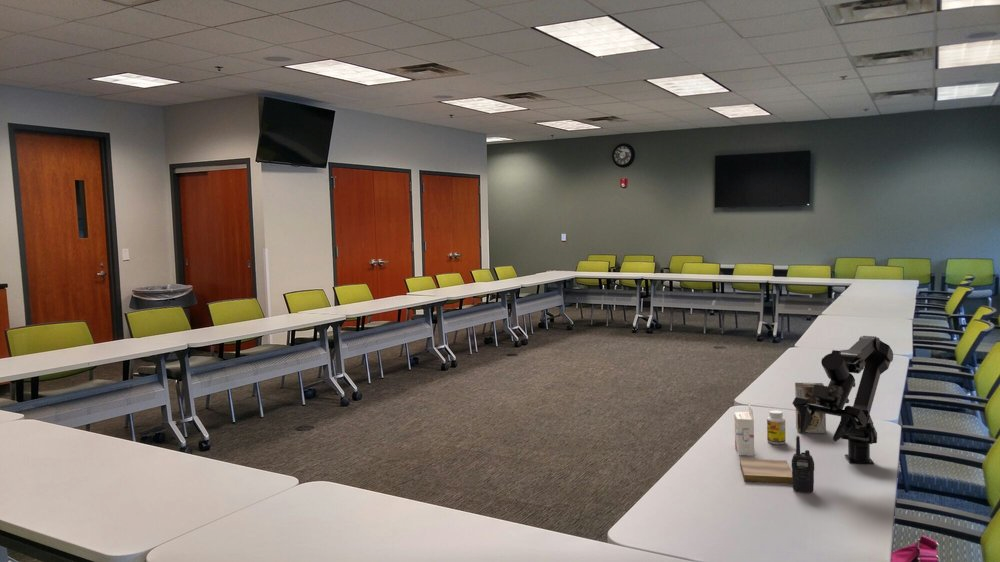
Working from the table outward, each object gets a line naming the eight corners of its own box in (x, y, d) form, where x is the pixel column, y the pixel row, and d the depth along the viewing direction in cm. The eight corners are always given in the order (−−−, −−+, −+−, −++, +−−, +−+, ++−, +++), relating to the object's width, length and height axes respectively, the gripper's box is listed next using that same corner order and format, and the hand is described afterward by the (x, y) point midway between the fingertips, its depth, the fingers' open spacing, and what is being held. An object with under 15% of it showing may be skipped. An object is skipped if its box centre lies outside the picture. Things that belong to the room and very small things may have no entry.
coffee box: (823, 428, 233) (823, 382, 232) (826, 433, 227) (825, 386, 226) (795, 427, 236) (794, 381, 235) (796, 432, 230) (796, 386, 229)
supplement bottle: (763, 441, 222) (763, 410, 221) (776, 438, 224) (775, 408, 223) (776, 445, 216) (776, 414, 216) (789, 443, 219) (789, 412, 218)
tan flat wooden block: (739, 465, 200) (739, 458, 200) (786, 467, 197) (786, 460, 197) (744, 482, 187) (744, 474, 187) (794, 484, 184) (794, 477, 183)
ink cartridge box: (734, 447, 217) (733, 402, 216) (750, 447, 216) (749, 402, 215) (738, 455, 209) (737, 409, 208) (754, 456, 208) (754, 409, 207)
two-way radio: (791, 491, 179) (790, 436, 178) (792, 486, 183) (792, 432, 182) (814, 494, 176) (813, 438, 175) (815, 488, 180) (814, 434, 179)
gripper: (795, 368, 192) (773, 413, 187) (861, 378, 177) (840, 427, 171) (810, 391, 197) (790, 435, 192) (876, 402, 182) (856, 451, 176)
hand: (817, 436), depth 183 cm, fingers open, 9 cm apart
